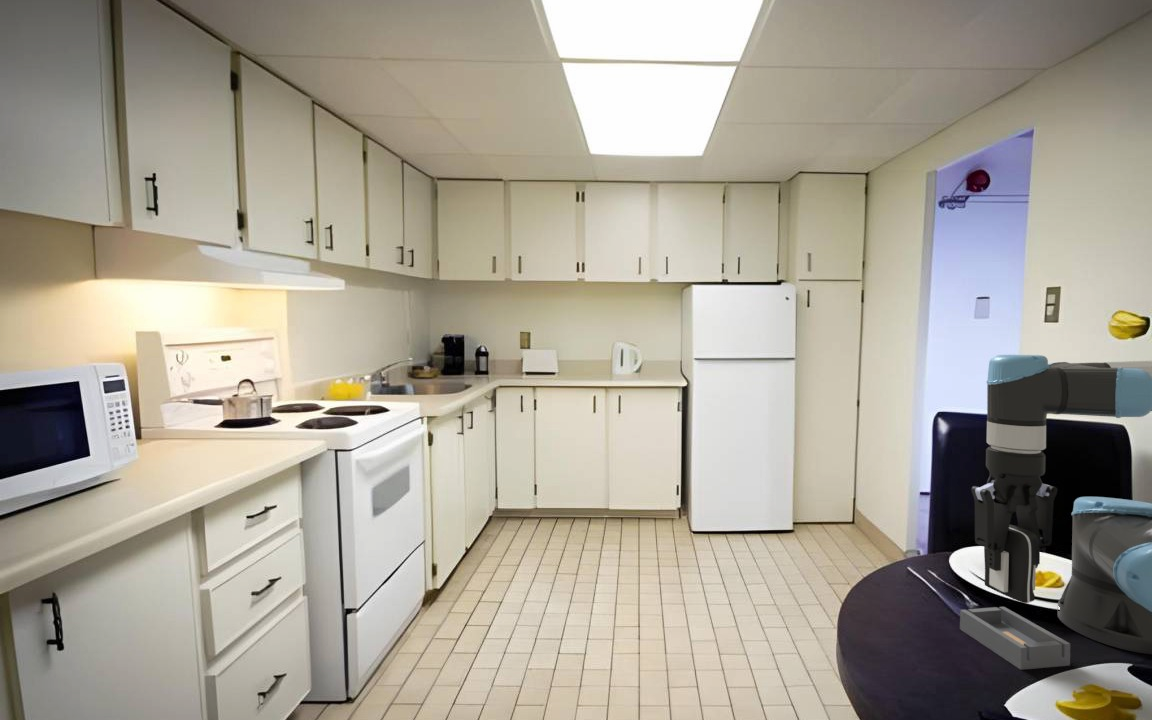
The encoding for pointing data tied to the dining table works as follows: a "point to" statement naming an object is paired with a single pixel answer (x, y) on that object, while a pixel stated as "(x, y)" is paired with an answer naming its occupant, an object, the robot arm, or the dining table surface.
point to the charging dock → (1015, 638)
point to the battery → (1019, 564)
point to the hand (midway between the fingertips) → (1011, 587)
